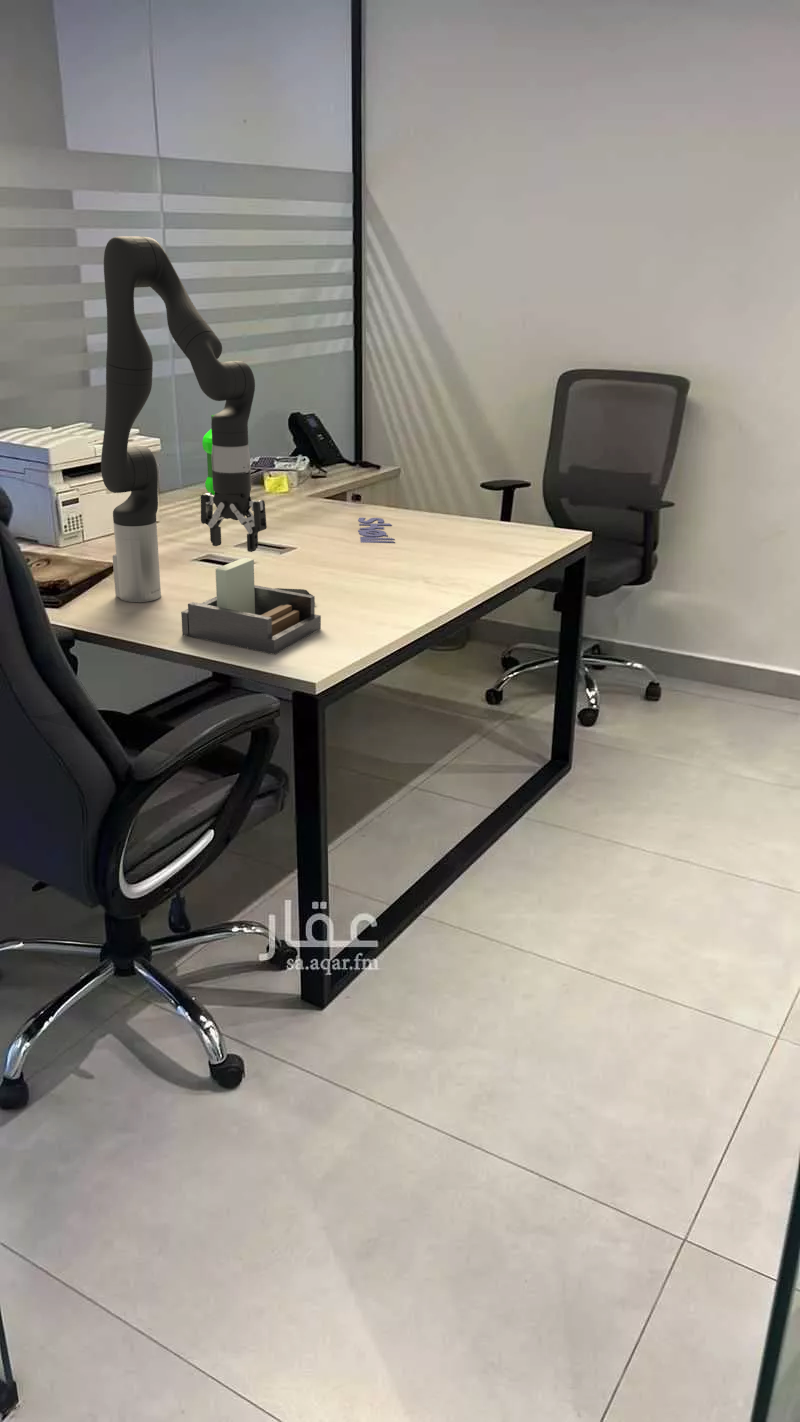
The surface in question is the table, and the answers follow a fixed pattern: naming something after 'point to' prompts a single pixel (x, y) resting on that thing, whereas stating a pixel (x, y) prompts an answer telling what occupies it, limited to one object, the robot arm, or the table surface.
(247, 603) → the pale green flat block
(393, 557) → the table surface
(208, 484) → the plastic bottle
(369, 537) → the signage
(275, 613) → the offcut stack
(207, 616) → the tray
